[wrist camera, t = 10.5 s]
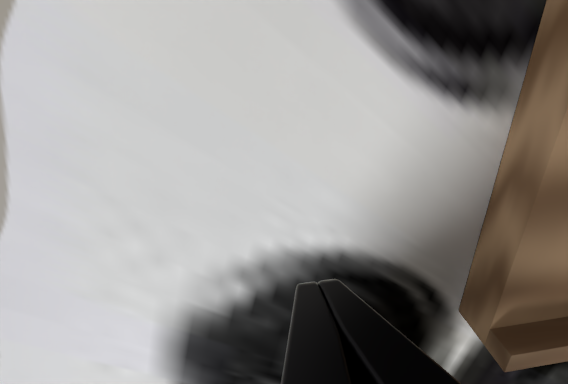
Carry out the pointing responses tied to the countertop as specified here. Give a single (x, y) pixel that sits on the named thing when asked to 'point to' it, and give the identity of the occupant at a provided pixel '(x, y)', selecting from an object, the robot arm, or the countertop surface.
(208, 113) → the countertop surface
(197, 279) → the countertop surface
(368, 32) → the countertop surface
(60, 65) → the countertop surface
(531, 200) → the trap box
